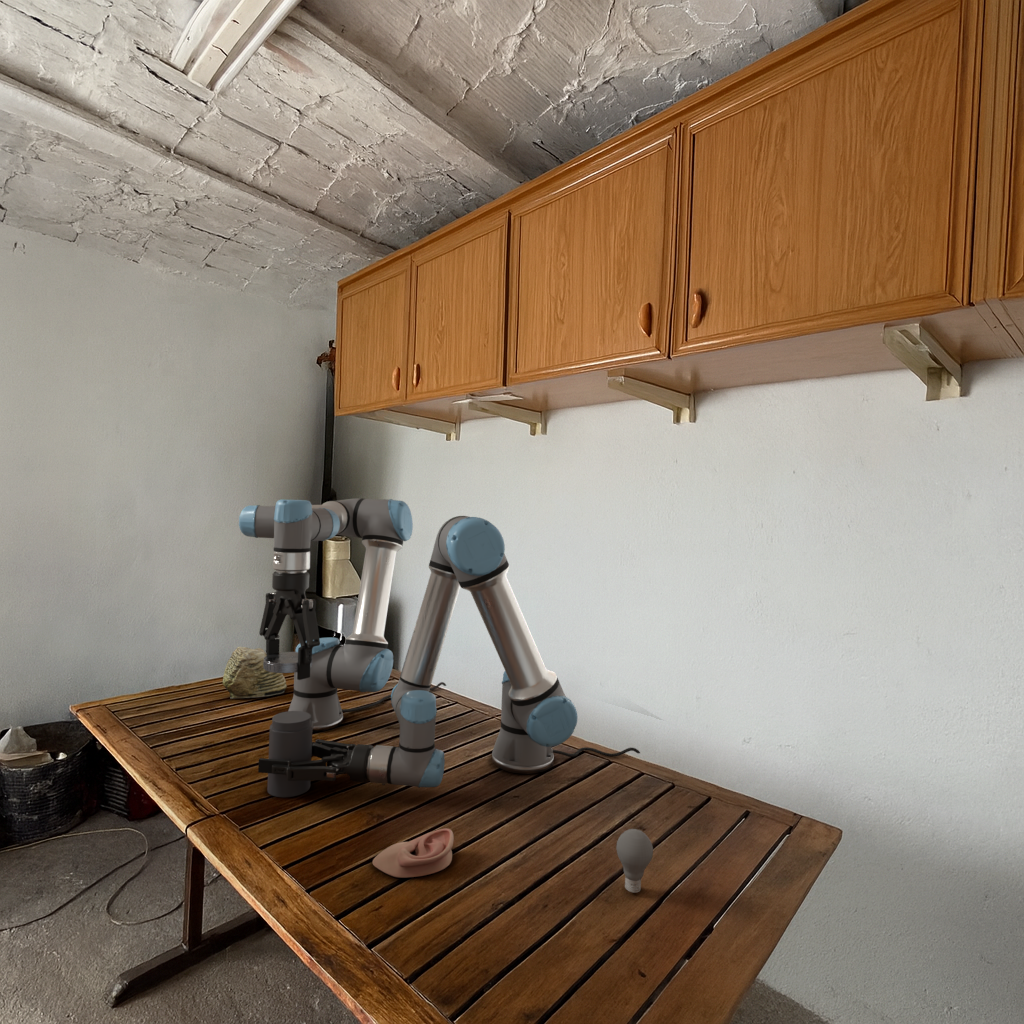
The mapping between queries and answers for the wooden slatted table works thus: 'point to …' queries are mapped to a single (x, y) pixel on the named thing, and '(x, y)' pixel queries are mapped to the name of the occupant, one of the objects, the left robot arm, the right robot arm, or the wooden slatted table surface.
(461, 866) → the wooden slatted table surface
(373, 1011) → the wooden slatted table surface
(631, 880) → the light bulb
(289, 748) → the jar
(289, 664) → the lid
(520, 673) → the right robot arm
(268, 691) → the fossil
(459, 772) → the wooden slatted table surface
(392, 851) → the anatomical model
